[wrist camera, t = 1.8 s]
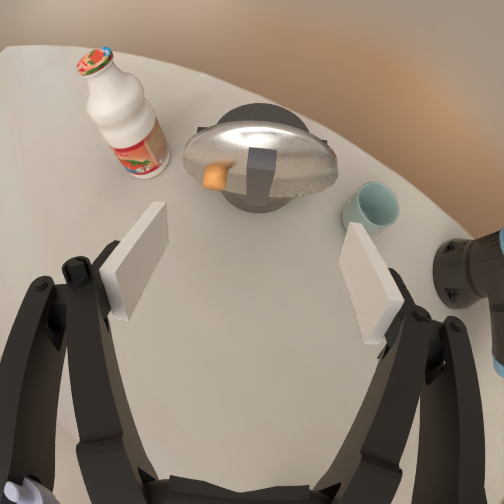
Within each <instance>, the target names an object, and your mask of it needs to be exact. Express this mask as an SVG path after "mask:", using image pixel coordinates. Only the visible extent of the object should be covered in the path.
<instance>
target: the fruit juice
mask: <svg viewBox="0 0 504 504" xmlns="http://www.w3.org/2000/svg"><path fill="white" fill-rule="evenodd" d="M113 59H114V56H113V53H112V51H111V50H110V49H109V48H108V47H100V48H97V49H95V50H93V51H91V52H89V53H88V54H86V55H85V56H84V57H83V58H82V59H81V60H80V61H79V63H78V65H77V69H78V72H79V74H80V75H81V76H82V77H83V78H85V79H86V81H87V86H88V96H87V100H86V111H87V114H88V116H89V118H90V119H91V120H92V121H93V122H94V123H95V124H97V125H98V126H99V131H100V133H101V135H102V137H103V139H104V140H105V142H106V143H107V144H108V145H109V147H110V148H111V150H112V151H113V152H114V154H115V155H116V156H117V158H118V159H119V160H120V162H121V163H122V164H123V165H124V167H125V168H126V169H127V171H128V172H129V173H130V174H131V175H132V176H134V177H136V178H138V179H150V178H153V177H155V176H157V175H158V174H160V173H161V172H162V171H163V170H164V169H165V168H166V166H167V164H168V162H169V159H170V150H169V147H168V144H167V142H166V139H165V137H164V135H163V132H162V130H161V127H160V125H159V123H158V120H157V118H156V115H155V113H154V110H153V108H152V106H151V104H150V103H149V101H148V100H147V99H146V98H145V97H144V88H143V85H142V84H141V82H140V80H139V79H138V78H137V77H136V76H134V75H132V74H130V73H126V72H123V71H121V70H120V69H119V68H118V67H117V66H116V65H115V64H114V62H113Z"/></svg>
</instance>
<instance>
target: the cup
mask: <svg viewBox="0 0 504 504" xmlns="http://www.w3.org/2000/svg"><path fill="white" fill-rule="evenodd" d="M398 215H399V205H398V202H397V199H396V197H395V195H394V194H393V192H392V191H391V190H390V189H389V188H388V187H387V186H386V185H384V184H382V183H379V182H369V183H366V184H364V185H363V186H361V187H360V188H359V189H358V190H357V191H356V192H355V193H354V194H353V195H352V197H351V198H350V199H349V200H348V202H347V203H346V205H345V206H344V209H343V211H342V222H343V225H344V227H345V229H346V231H347V230H348V226H349V223H350V222H355V223H362V225H363V227H364V228H365V230H366V232H367V233H368V235H369V237H371V236H374V235H376V234H378V233H380V232H382V231H383V230H385V229H386V228H388V227H389V226H391V225H392V224H393V223H394V222H395V221H396V220H397V218H398Z"/></svg>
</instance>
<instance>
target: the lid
mask: <svg viewBox="0 0 504 504" xmlns="http://www.w3.org/2000/svg"><path fill="white" fill-rule="evenodd" d="M183 165H184V167H185V169H186V170H187V172H188V173H189V174H190V175H192V176H193V177H194V178H196V179H197V180H199V181H201V182H203V185H202V186H203V187H204V188H206V189H209V190H215V191H220V190H225V191H228V192H233V193H238V194H243V195H246V205H255V206H265V207H266V204H267V201H268V197H297V196H304V195H310V194H314V193H317V192H320V191H323V190H325V189H327V188H328V187H330V186H331V185H332V184H333V183H334V182H335V181H336V179H337V176H338V160H337V157H336V154H335V153H334V151H333V150H332V149H331V148H330V147H329V146H328V145H327V144H326V143H325V142H324V141H322V140H321V139H319V138H318V137H316V136H314V135H312V134H310V133H308V132H306V131H304V130H301V129H298V128H295V127H292V126H288V125H284V124H280V123H273V122H267V121H234V122H227V123H222V124H217V125H214V126H211V127H208V128H206V129H204V130H201V131H199V132H198V133H196V134H195V135H194V136H193V137H191V138H190V139H189V141H188V142H187V144H186V147H185V151H184V156H183Z"/></svg>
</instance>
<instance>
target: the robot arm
mask: <svg viewBox="0 0 504 504" xmlns="http://www.w3.org/2000/svg"><path fill="white" fill-rule="evenodd" d="M168 244H169V239H168V224H167V205H166V202H157V201H154V202H153V203H152V204H151V205H150V207H149V208H148V209H147V210H146V211H145V212H144V214H143V215H142V216H141V217H140V218H139V219H138V221H137V222H136V223H135V224H134V225H133V227H132V228H131V229H130V230H129V232H128V233H127V234H126V235H125V237H124V238H123V239H122V240H121V241H116V240H115V241H113V242H112V243H110V244H108V245H107V246H106V247H105V248H104V250H103V251H102V253H100V255H99V256H98V258H96V260H95V261H94V262H93V263H92V265H91V263H90V260H89V259H88V258H87V257H83V256H78V257H74V258H71V259H69V260H68V261H66V262H65V263H64V264H63V266H62V272H63V275H64V277H65V280H66V283H67V284H58V285H55V284H54V282H53V279H52V278H51V277H50V276H42V277H39V278H37V279H35V280H34V281H33V282H32V283H31V285H30V286H29V288H28V291H27V293H26V295H25V297H24V299H23V302H22V304H21V306H20V309H19V311H18V314H17V316H16V319H15V321H14V324H13V326H12V329H11V332H10V334H9V337H8V340H7V343H6V346H5V349H4V352H3V355H2V359H1V362H0V504H60V503H59V501H58V500H57V499H56V498H55V496H54V495H53V493H52V491H53V486H54V478H55V434H56V418H57V407H58V398H59V390H60V382H61V376H62V370H63V364H64V358H65V353H66V348H67V351H68V365H69V375H70V384H71V392H72V399H73V405H74V411H75V417H76V422H77V427H78V432H79V437H80V442H79V443H78V444H77V445H76V453H77V459H78V462H79V466H80V469H81V473H82V476H83V480H84V483H85V485H86V489H87V492H88V495H89V497H90V500H91V502H92V504H391V502H392V500H393V498H394V495H395V493H396V491H397V489H398V486H399V484H400V481H401V478H402V470H401V469H400V468H399V462H400V459H401V456H402V453H403V451H404V448H405V445H406V442H407V439H408V436H409V432H410V429H411V426H412V422H413V419H414V415H415V412H416V408H417V404H418V400H419V396H420V430H419V446H418V458H417V467H416V475H415V482H414V489H413V495H412V503H411V504H487V499H486V494H485V488H484V481H485V436H484V422H483V411H482V403H481V396H480V389H479V383H478V377H477V372H476V367H475V362H474V357H473V353H472V349H471V345H470V341H469V337H468V333H467V329H466V327H465V325H464V323H463V322H462V321H461V320H460V319H459V318H457V317H454V316H448V317H447V318H446V319H445V321H444V322H443V323H441V322H438V321H435V320H432V319H431V316H430V314H429V313H428V312H427V311H426V310H425V309H424V308H422V307H420V306H417V305H415V303H414V301H413V299H412V297H411V295H410V293H409V291H408V289H406V286H405V284H404V283H403V280H402V279H401V277H400V275H399V274H398V273H397V272H396V271H395V270H394V269H392V268H387V266H386V264H385V263H384V261H383V259H382V257H381V255H380V254H379V252H378V250H377V248H376V247H375V245H374V243H373V242H372V240H371V238H370V237H369V235H368V233H367V232H366V230H365V228H364V227H363V225H362V223H355V222H350V223H349V226H348V230H347V233H346V237H345V240H344V244H343V247H342V250H341V253H340V257H339V260H338V261H339V264H340V267H341V270H342V273H343V276H344V279H345V282H346V285H347V288H348V291H349V294H350V297H351V300H352V303H353V306H354V309H355V313H356V316H357V319H358V322H359V326H360V329H361V333H362V336H363V340H364V343H365V345H368V344H380V342H381V341H382V339H383V337H384V336H385V338H386V341H387V344H386V345H385V347H384V348H383V350H382V351H381V353H380V354H379V356H378V357H377V359H379V358H380V360H379V362H378V365H377V368H376V371H375V373H374V376H373V378H372V381H371V383H370V386H369V388H368V391H367V393H366V396H365V398H364V400H363V403H362V405H361V407H360V410H359V412H358V414H357V416H356V418H355V420H354V423H353V425H352V427H351V429H350V431H349V433H348V435H347V437H346V439H345V441H344V443H343V445H342V446H341V448H340V450H339V452H338V454H337V456H336V458H335V459H334V461H333V463H332V465H331V466H330V468H329V470H328V471H327V472H326V474H325V475H324V476H323V477H322V478H321V479H320V480H319V482H318V483H317V484H316V486H315V487H314V489H313V490H310V489H309V485H304V486H275V487H271V488H266V489H261V490H255V491H249V492H243V493H239V492H235V491H231V490H228V489H225V488H222V487H219V486H216V485H213V484H210V483H208V482H205V481H200V480H194V479H188V478H182V477H177V476H172V475H170V478H169V479H163V480H159V479H158V476H157V474H156V472H155V470H154V468H153V466H152V464H151V463H150V461H149V459H148V457H147V455H146V453H145V451H144V448H143V446H142V443H141V440H140V437H139V435H138V432H137V429H136V426H135V423H134V420H133V417H132V414H131V411H130V408H129V404H128V401H127V397H126V394H125V390H124V387H123V383H122V379H121V375H120V371H119V367H118V363H117V359H116V354H115V349H114V345H113V340H112V334H111V329H110V323H109V320H108V317H107V316H108V314H109V312H110V310H111V311H112V314H113V317H114V318H115V319H119V320H124V321H129V319H130V317H131V315H132V313H133V311H134V309H135V307H136V305H137V303H138V301H139V299H140V297H141V295H142V293H143V291H144V289H145V287H146V285H147V283H148V281H149V279H150V277H151V275H152V273H153V271H154V270H155V268H156V266H157V264H158V262H159V260H160V258H161V256H162V255H163V253H164V251H165V249H166V247H167V245H168ZM433 278H434V284H435V288H436V291H437V293H438V295H439V297H440V299H441V300H442V302H443V303H444V304H445V305H446V306H448V307H450V308H452V309H463V308H467V307H469V306H471V305H472V304H474V303H476V302H477V301H479V300H480V299H482V298H486V297H488V300H489V308H490V318H491V331H492V355H493V364H494V369H495V371H496V372H497V373H498V374H499V375H500V376H501V377H503V378H504V228H502V230H500V231H497V232H495V233H492V234H489V235H487V236H484V237H481V238H478V239H476V240H468V239H453V240H450V241H447V242H445V243H444V244H443V245H442V246H441V247H440V248H439V249H438V251H437V253H436V256H435V259H434V265H433ZM444 361H445V365H444Z"/></svg>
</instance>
